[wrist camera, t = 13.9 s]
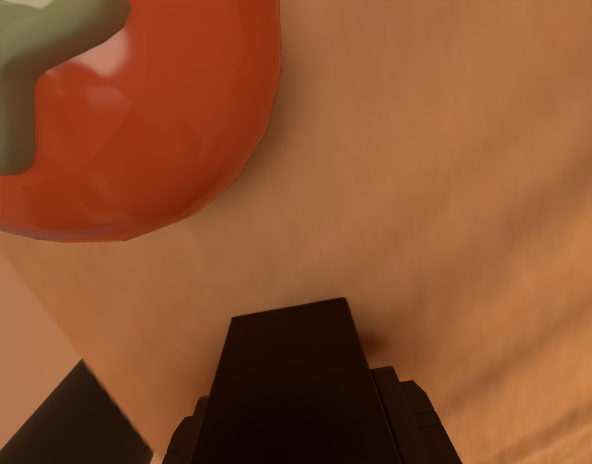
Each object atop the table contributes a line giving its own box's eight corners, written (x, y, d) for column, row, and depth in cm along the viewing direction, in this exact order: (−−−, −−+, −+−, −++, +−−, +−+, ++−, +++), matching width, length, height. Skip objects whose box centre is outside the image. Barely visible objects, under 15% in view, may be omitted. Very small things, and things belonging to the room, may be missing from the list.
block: (258, 403, 13) (227, 679, 7) (231, 317, 12) (157, 563, 5) (359, 385, 13) (433, 653, 6) (345, 297, 12) (422, 525, 5)
